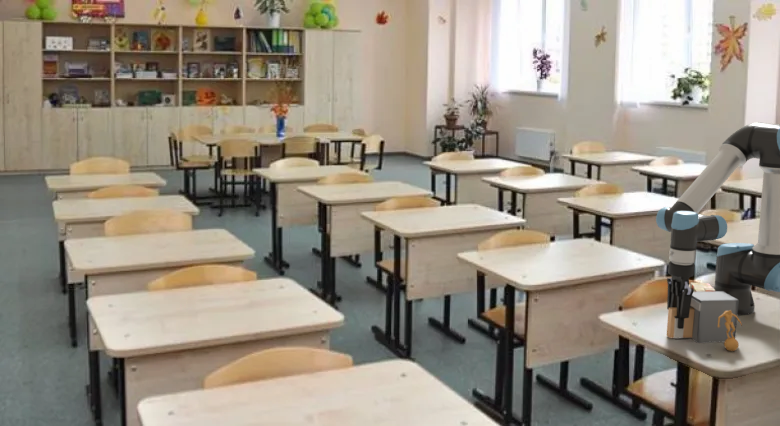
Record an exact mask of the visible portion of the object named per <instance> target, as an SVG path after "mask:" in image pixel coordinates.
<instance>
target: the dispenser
mask: <svg viewBox="0 0 780 426" xmlns="http://www.w3.org/2000/svg"><path fill="white" fill-rule="evenodd" d="M738 304H739V300H738V299H736V298H734V297H732V296H730V295H729V294H727V293H725V292H723V291H698V292H693V294H692V298H691V305H690V307H693V308H695V310H694V322H693V334H692V338H691V339H692V340H693V341H695V342H696V343H697V344H698V343H699V344H700V343H703V344H704V343H724V342H725V340H726V339H728V337H727V332H726V331H727V328H726V326H725V322H726V320H725V317H724V316H723V317H722V318H720V323H719V325H720V328H718V317H719V316H721V315H722V314H723V313H724V311H729V310H731V311H732V313H733V314H735V315H736V316H737V317H738V316H739V315H738ZM731 322H733V325H734V327H735V331H734V332H733V333H732V334H733V337H734V338H735V339H736V335H737V324H738V323H737V322H738V320H737V318H736V317H734V316H732V319H731ZM731 330H733V329H732V328H731V327H730V331H729V333H728V334H729V337H730V338H732V336H731Z"/></svg>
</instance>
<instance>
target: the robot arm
mask: <svg viewBox="0 0 780 426" xmlns="http://www.w3.org/2000/svg"><path fill="white" fill-rule="evenodd" d="M751 159H752V160H753V159H758V160H759V163H758V167H760V169H761V170H762V172H763V175H762V185H761V186H762V189H761V197H760V198H761V201H760V211H759V213H760V214H759V224H758V238H757V243H756V244H753V243H748V242H747V243H746V242H729V243H722V244H720V245H719V246H718V248H717V255H716V260H715V261H716V263H715V264H716V265H715V274H714V275H715V276H714V286H713V288H714V289H715V291H723V292H725V293H727V294H729V295H730V296H732V297H734V298H736V299H738V300H739V304H738V315H737V316H748V315H751V314H754V313H755V309H756V308H755V306H756V305H755V301H754V298H753V293H752V287H756V288H759V289H764V290H765V291H768V292H774V293H780V124H779V123H767V122H753V123H750V124H747V125H744V126H743V127H740V128H739V129H737V130H736V131H735V132H733V133H732V134H730V135H729V136H728V137H727V138H726V139H725V141H723V142H722V144H721V145H719V149H718V153H717V154H716V155H715V156H714V158H712V160H711V161H710V162H709V164H707V165H706V167H705V168H704V170H702V171H701V172H700V174H699V175H698V176H697V177H696V179H694V181H692V183H691V184H690V185H689V187H687V189H686V190H685V191H684V192H683V194H681V195H680V197H679V198H678V199H677V200H676V201H675V203H673V205H672V206H671V207H670V206H667V207H666V206H665V207H664V206H663V207H662V208H660V209H659V210H658V211H657V214H656V216H655V221H656V222H655V223H656V225H657V227H658V228H659V229H660V230H663V231H666V232H667V233H670V245H669V246H670V248H669V251H668V255H669V258H668V260H669V262H668V269H667V273H668V275H670V276H671V277H669V278H668V277H667V278H666V282H667V283H666V285H667V298H666V299H667V303H666V308H667V310H669V308H677V316H674V317H675V324H674V337H673V338H672V339H683V331H684V319H685V318H689V312H690V305H691V298H692V294H693V291H694V290H693V288H690V287H689V284H690V278H692V277H693V276H695V267H696V265H695V262H696V256H697V243H698V242H705V241H706V242H708V241H716V240H719V239H722V238H724V237H725V236H726V234H727V232H728V222H727V220H726V219H725V218H724V217H723V216H721V215H718V214H710V215H705V214H701V213H700V212H701V210H702V209H703V208H704V207H705V205H706V204H708V202H709V201H710V200H711V198H713V196H714V195H715V194H716V193H717V192H718V190H719V189H720V188H721V187H722V186H723V185H724V184H725V182H726V181H728V179H729V178H730V177H731V175H732V174H733V173H735V171H736V170H737V169H738V168H739V167H741V166H744V165H745V164H746V163H747V161H749V160H751Z"/></svg>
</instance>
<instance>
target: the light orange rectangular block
mask: <svg viewBox="0 0 780 426" xmlns="http://www.w3.org/2000/svg"><path fill="white" fill-rule="evenodd" d="M667 310H668V309H667ZM694 310H695V308H693V307H690V312H689V318H685V319H684V331H683V338H684V339H685V338H688V339H692V334H693V322H694ZM667 312H668V314H667V325H666V336H667V337H668V338H669V339H674V338H673V337H674V324H675V317H674V316H677V308H669V310H668V311H667ZM683 338H682V339H683Z"/></svg>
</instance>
